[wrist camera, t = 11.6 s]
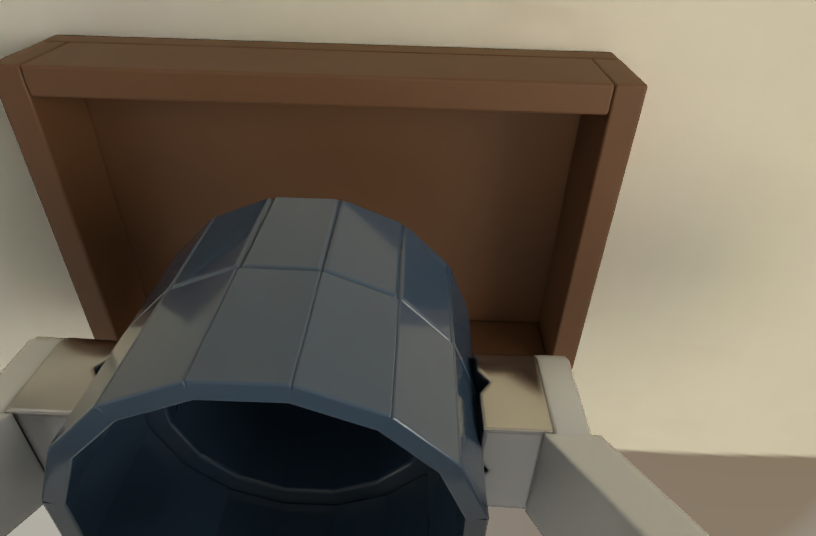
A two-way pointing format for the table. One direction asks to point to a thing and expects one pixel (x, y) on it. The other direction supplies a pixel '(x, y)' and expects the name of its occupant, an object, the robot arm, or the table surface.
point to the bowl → (283, 390)
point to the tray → (332, 160)
